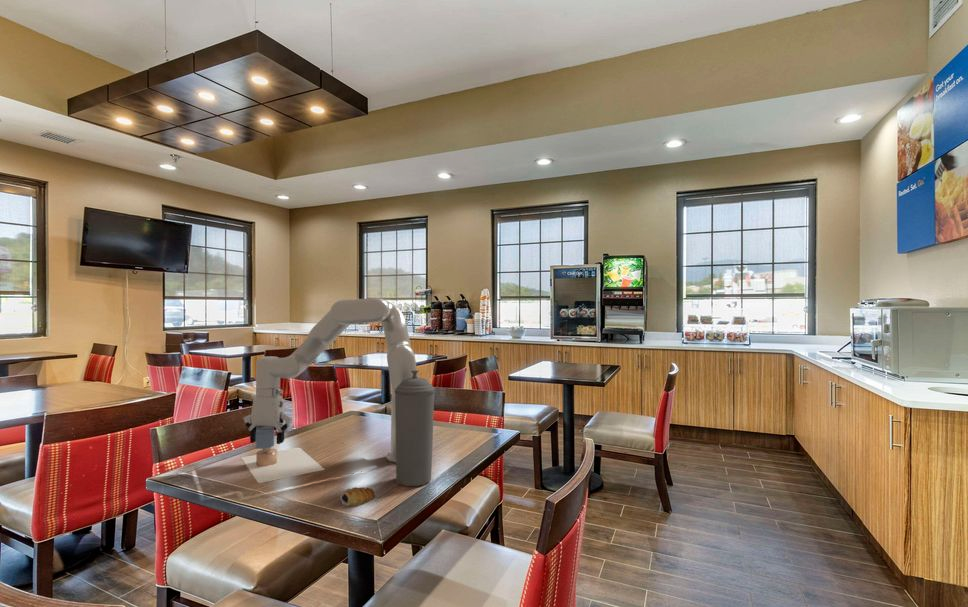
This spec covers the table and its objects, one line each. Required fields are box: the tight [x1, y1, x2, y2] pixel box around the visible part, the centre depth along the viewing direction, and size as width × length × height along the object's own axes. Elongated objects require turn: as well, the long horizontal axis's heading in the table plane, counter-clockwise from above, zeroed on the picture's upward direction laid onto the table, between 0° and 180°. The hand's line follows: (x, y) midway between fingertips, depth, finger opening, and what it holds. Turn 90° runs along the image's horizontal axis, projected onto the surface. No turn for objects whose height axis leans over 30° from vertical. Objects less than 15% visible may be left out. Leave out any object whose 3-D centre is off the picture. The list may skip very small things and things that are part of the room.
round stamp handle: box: [255, 447, 278, 466], centre depth 152 cm, size 6×6×11 cm
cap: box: [254, 426, 275, 450], centre depth 152 cm, size 6×6×6 cm
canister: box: [395, 369, 436, 487], centre depth 140 cm, size 13×13×35 cm
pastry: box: [339, 486, 376, 508], centre depth 125 cm, size 9×7×4 cm
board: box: [240, 447, 326, 484], centre depth 152 cm, size 30×20×1 cm, turn 38°
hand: (267, 442), depth 152 cm, fingers open, 9 cm apart
